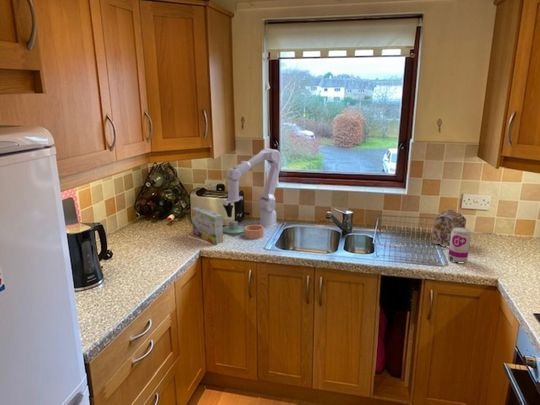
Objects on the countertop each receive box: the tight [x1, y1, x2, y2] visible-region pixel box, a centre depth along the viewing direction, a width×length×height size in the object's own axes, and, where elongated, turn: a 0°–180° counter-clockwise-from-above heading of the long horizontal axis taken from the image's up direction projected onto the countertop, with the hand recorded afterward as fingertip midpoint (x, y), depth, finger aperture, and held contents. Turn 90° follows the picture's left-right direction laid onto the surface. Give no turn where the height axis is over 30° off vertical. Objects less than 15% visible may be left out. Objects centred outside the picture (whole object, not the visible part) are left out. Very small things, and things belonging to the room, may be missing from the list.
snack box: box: [191, 206, 224, 246], centre depth 214 cm, size 21×6×15 cm, turn 42°
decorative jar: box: [431, 209, 467, 246], centre depth 211 cm, size 12×12×18 cm
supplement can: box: [447, 227, 472, 263], centre depth 190 cm, size 8×8×15 cm
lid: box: [223, 220, 245, 234], centre depth 228 cm, size 13×13×5 cm
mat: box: [223, 232, 244, 238], centre depth 229 cm, size 16×15×1 cm
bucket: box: [243, 224, 265, 240], centre depth 220 cm, size 10×10×5 cm
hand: (233, 215), depth 225 cm, fingers open, 7 cm apart
